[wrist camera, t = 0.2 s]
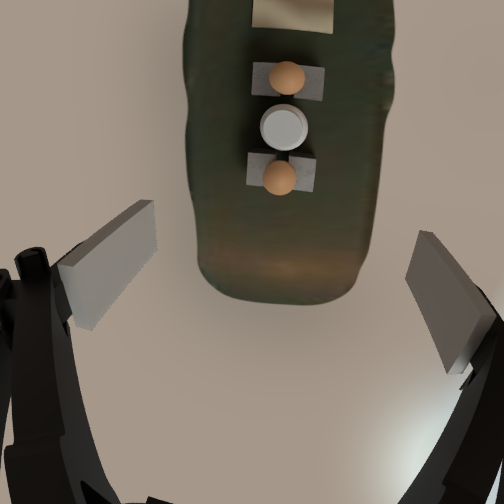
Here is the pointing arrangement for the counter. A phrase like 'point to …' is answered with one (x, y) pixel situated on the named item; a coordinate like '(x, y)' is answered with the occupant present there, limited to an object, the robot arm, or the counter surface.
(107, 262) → the robot arm
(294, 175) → the plunger
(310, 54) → the counter surface
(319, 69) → the set of grey blocks
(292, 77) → the plunger
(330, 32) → the coaster
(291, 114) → the pill bottle
